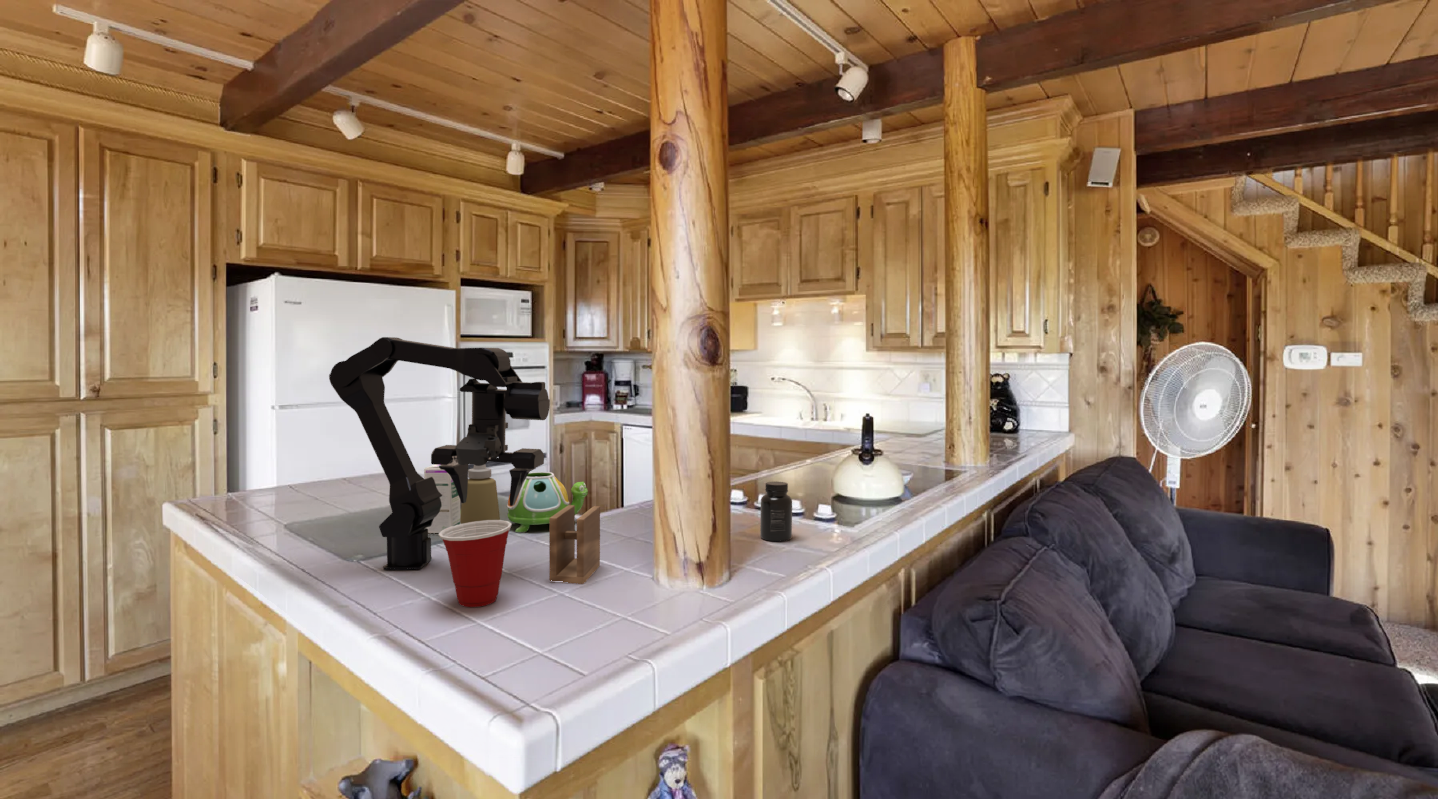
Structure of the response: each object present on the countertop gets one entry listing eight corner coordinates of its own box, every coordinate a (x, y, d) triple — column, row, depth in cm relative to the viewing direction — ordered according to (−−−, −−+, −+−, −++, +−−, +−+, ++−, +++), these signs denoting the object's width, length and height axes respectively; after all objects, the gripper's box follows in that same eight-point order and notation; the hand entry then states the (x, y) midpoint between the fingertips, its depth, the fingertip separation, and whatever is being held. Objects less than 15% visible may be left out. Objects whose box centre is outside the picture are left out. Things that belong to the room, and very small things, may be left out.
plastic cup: (456, 587, 112) (456, 516, 111) (521, 589, 112) (521, 518, 111) (426, 612, 101) (425, 534, 100) (497, 614, 101) (497, 536, 100)
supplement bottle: (797, 537, 147) (798, 482, 146) (782, 544, 141) (784, 487, 140) (769, 532, 150) (770, 479, 150) (754, 538, 145) (755, 483, 144)
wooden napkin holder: (549, 582, 116) (549, 518, 115) (568, 564, 126) (568, 505, 125) (583, 584, 115) (583, 519, 114) (599, 565, 125) (600, 506, 124)
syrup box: (452, 534, 144) (451, 467, 143) (424, 533, 144) (423, 466, 143) (462, 527, 150) (461, 462, 149) (436, 526, 150) (435, 462, 149)
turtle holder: (594, 528, 152) (594, 475, 151) (511, 536, 144) (510, 480, 143) (581, 515, 163) (582, 466, 162) (503, 522, 155) (503, 471, 154)
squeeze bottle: (487, 542, 138) (486, 456, 137) (451, 540, 140) (451, 454, 139) (507, 532, 146) (507, 450, 145) (473, 530, 148) (472, 448, 147)
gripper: (414, 420, 113) (414, 512, 114) (523, 424, 112) (522, 517, 113) (446, 414, 124) (445, 497, 125) (545, 418, 123) (544, 503, 124)
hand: (487, 504), depth 121 cm, fingers open, 9 cm apart
